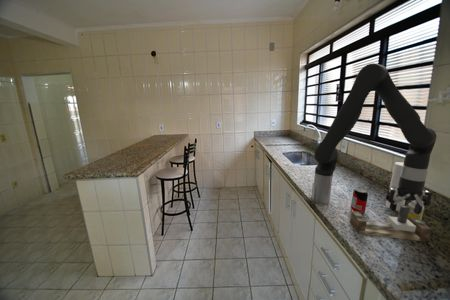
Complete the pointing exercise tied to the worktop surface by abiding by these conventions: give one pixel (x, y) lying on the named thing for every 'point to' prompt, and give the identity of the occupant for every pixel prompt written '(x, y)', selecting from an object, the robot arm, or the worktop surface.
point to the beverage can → (359, 200)
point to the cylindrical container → (396, 183)
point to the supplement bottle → (411, 212)
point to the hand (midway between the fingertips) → (404, 212)
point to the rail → (391, 233)
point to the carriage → (402, 220)
